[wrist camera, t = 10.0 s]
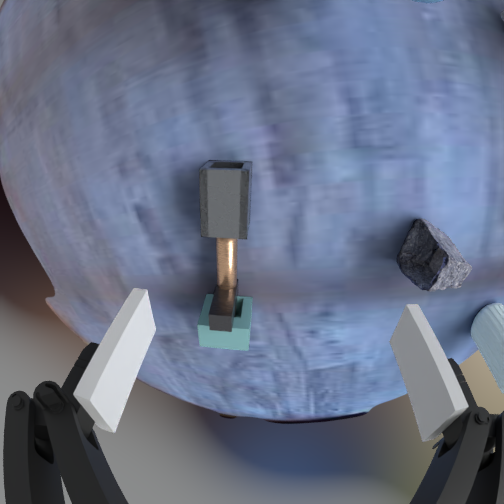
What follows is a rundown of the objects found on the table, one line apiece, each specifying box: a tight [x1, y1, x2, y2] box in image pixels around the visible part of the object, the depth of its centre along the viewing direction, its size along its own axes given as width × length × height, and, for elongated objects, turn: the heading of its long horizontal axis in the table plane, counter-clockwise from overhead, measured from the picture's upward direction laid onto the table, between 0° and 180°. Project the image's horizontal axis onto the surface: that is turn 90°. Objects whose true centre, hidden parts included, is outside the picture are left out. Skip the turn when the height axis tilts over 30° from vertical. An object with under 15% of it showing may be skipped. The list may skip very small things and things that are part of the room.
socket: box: [197, 294, 252, 351], centre depth 47 cm, size 5×8×8 cm, turn 88°
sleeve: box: [199, 160, 252, 239], centre depth 37 cm, size 9×6×6 cm, turn 178°
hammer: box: [208, 238, 238, 332], centre depth 41 cm, size 20×3×9 cm, turn 178°
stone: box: [397, 219, 472, 291], centre depth 38 cm, size 12×10×10 cm
